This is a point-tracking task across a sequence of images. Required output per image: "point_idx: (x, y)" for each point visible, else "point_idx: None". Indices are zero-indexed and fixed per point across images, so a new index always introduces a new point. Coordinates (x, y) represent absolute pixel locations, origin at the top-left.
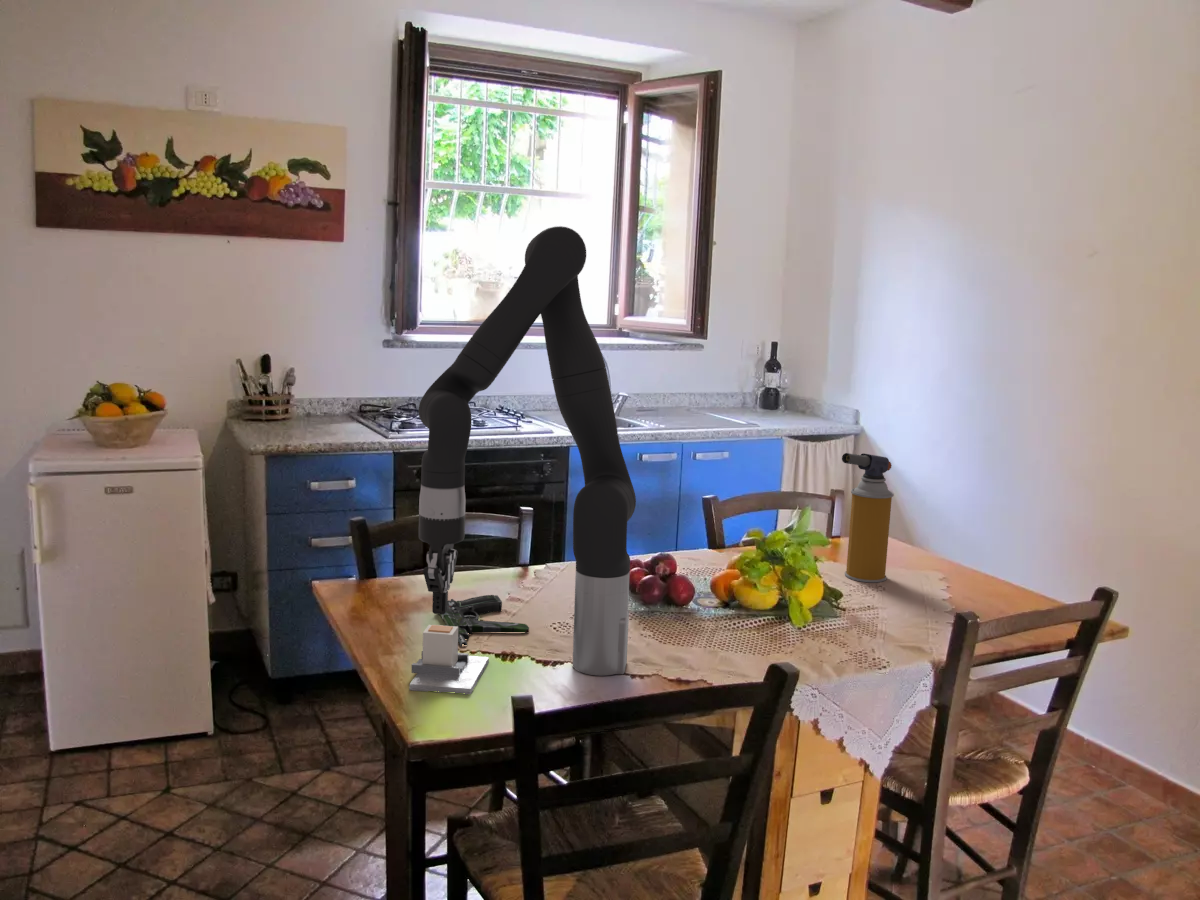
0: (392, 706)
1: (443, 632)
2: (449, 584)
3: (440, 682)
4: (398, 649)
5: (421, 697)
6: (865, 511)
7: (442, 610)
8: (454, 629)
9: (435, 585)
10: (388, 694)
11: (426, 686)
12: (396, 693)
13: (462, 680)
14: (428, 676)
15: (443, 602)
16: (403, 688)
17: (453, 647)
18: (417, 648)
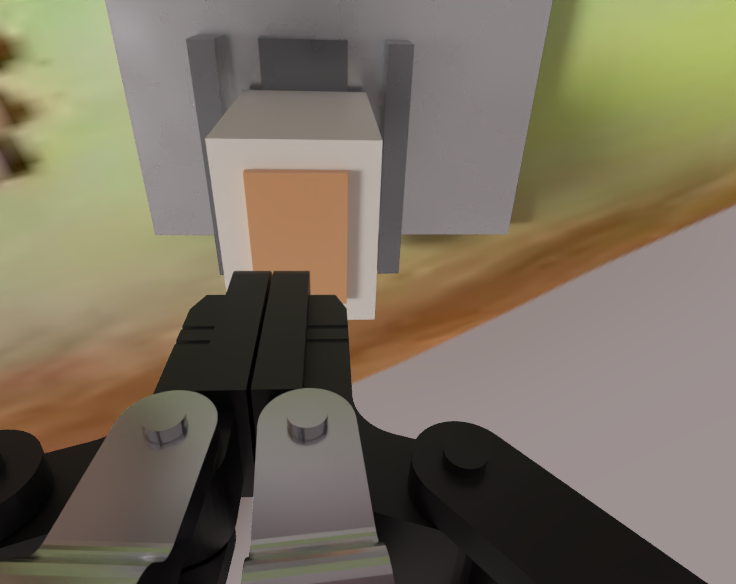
0: (640, 240)
1: (351, 209)
2: (128, 441)
3: (488, 114)
4: (123, 359)
5: (569, 162)
6: None
7: (322, 300)
8: (274, 151)
9: (480, 572)
10: (537, 279)
11: (518, 165)
12: (529, 257)
13: (456, 8)
14: (423, 183)
15: (307, 338)
16: (483, 247)
17: (343, 115)
18: (80, 305)
